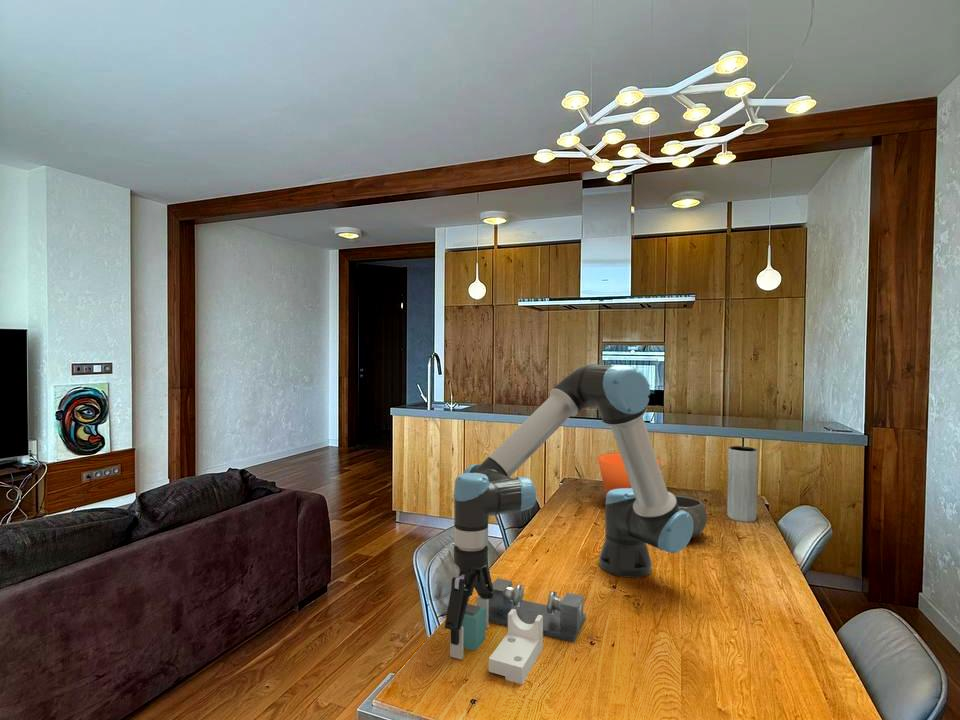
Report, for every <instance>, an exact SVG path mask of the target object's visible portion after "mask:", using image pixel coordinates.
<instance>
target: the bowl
mask: <svg viewBox="0 0 960 720" xmlns="http://www.w3.org/2000/svg"><path fill="white" fill-rule="evenodd" d="M674 496H675V498H676V500H677V503H678V506H679V509H680V510H681V511H683V510H684V511H686V512H687V513H689V514H690V515H691V517H692V519H693V533H692V536H691V539H692V538H695V537H696V536H699V535H700V534H701V533H702V532H703V530H705V528H706V525H707V521H708V519H707V518H708V516H707V510H706V508H705V505H704V504H703V502H702V501H701V500H699V499H696V498H694V497H693V498H691V497H687V496H680V495H674Z"/></svg>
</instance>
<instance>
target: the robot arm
mask: <svg viewBox="0 0 960 720" xmlns="http://www.w3.org/2000/svg"><path fill="white" fill-rule="evenodd" d="M650 395H651V387H650V384H649V381H648V379H647V377H646V376H645V375H644V373H643V372H642V371H641V370H639V369H637V368H636V367H633V366H629V365H628V366H627V365H622V364H615V365H612V364H611V365H609V364H597V363H596V364H593V363H592V364H591V363H590V364H585V365H583V366H581V367H579V368H576V369H575V370H573V371H572V372H570V373H568V375H566V376H565V377H564V378H563V379H562V380H560V381H559V382H558V383H557V384H556V385H555V386H554V387H553V388H552V389H551V390H550V391H549V397H548V398H547V399H546V400H545V401H544V402H543V403H542V404H541V405H540V406H538V408H536V410H535V411H533V413H531V415H529V416H528V418H527V419H525V420H524V421H523V422H522V423H521V424H520V425H519V427H517V428H516V429H515V430H514V431H513V432H512V433H511V434H510V435H509V436H508V437H507V438H506V439H505V440H504V441H503V442H502V443H501V444H500V445H499V446H498V447H497V448H496V449H495V450H494V451H493V452H492V453H491V454H489V456H488V457H487V458H485V459H484V461H483V462H481V463H474V464H473V463H472V464H470V465H469V466H467V468H465V470H464V472H463V473H461V474H459V475H458V476H456V478H455V481H454V491H453V501H454V502H453V504H454V505H453V507H454V511H453V513H454V515H453V517H454V525H453V528H452V531H453V532H454V533H453V534H454V537H453V538H454V539H453V543H454V547H453V562H454V564H455V565H456V566H457V567H458V568H459V574H458V577H452V579H451V586H450V587H451V589H450V593H449V594H450V595H449V601H448V604H447V605H448V606H447V610H446V617H445V621H444V629H445V630H448V631H449V630H450V631H449V632H450V633H449V634H450V636H449V637H450V639H449V642H450V644H449V646H450V649H449V651H450V652H449V656H450V657H451V658H454V659H458V660H463V659H464V648H463V635H464V627H461V626H462V622H463V619H464V615H465V611H466V607H467V604H469V599H470V597H471V596H472V595H473V592H474V590H475V591H476V593H477V597H476V606H479V607H483V608H485V629H488V628H489V621H488V612H489V599H488V598H490V599H492V597H493V593H490V592H492V591H493V586H492V583H493V582H492V577H491V572H490V568H489V547H488V546H487V545H488V544H489V517H492V516H497V515H498V516H499V515H505V514H512V513H517V512H519V513H520V512H521V513H522V511H526V510H529V509H530V510H531V509H533V507H534V506H535V505H536V502H537V490H536V489H537V488H536V486H535V483H534V482H533V480H532V479H531V478H530V477H527V476H516V477H513V475H514V474H515V472H517V471H518V470H519V468H521V467H522V465H523V464H524V463H525V462H527V460H528V459H529V458H531V457H532V455H534V454H535V452H537V450H538V449H539V448H540V447H541V446H543V444H544V443H545V442H546V441H547V440H548V439H549V438H551V436H552V435H553V434H554V433H556V431H557V430H559V428H560V427H561V426H562V425H563V424H564V423H565V422H566V421H567V420H568V419H569V418H570V417H576V416H577V415H578V414H579V413H580V412H582V411H583V410H585V409H588V408H594V409H597V410H598V413H599V416H600V418H601V422H602V423H603V424H605V425H607V426H609V427H610V428H611V432H612V434H613V438H614V441H615V443H616V446H617V448H618V451H619V452H618V453H620V455H621V458H622V461H623V464H624V466H625V469H626V472H627V475H628V478H629V481H630V484H631V487H632V488H621V489H614V490H610V491H609V492H608V493H607V495H606V494H605V506H604V507H605V508H604V511H605V512H604V513H605V514H604V515H605V517H604V519H605V531H604V532H605V539H604V542H603V545H602V548H601V550H600V554H599V557H598V564H599V567H600V568H601V569H602V570H603V571H605V572H607V573H609V574H611V575H614V576H619V577H623V578H641V577H645V576H648V575H650V574H651V573H652V569H653V566H652V565H653V563H652V559H651V555H650V552H649V550H648V545H650V546H651V547H654V548H656V549H657V550H660V551H662V552H663V551H664V552H667V553H669V554H676V553H677V554H678V553H680V552H681V551H683V550H684V549H685V548H686V547H687V546H688V544H689V543H690V541H691V539H692V538H691V536H692V533H693V519H692V517H691V515H690V514H689V513H687V512H686V511H684V510H683V511H681V510H680V509H679V506H678V503H677V500H676V498H675V496H676V495H674V493H672V492H670V491H668V489H667V486H666V483H665V480H664V476H663V473H662V471H661V468H660V467H659V464H658V461H657V456H656V453H655V450H654V447H653V444H652V440H651V437H650V434H649V432H648V428H647V426H646V422H645V420H644V415H645V414H646V413H647V406H648V404H649V402H650V397H649V396H650ZM511 476H512V477H511Z"/></svg>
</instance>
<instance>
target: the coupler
mask: <svg viewBox="0 0 960 720" xmlns="http://www.w3.org/2000/svg"><path fill="white" fill-rule="evenodd" d="M461 627H464V635H463V649H468V650H471V651H475V652H476V651H478V649H479V648H480V647H481V645H482V644H483V643H484V641H485V640H486V628H485V608H483V607H479V606H477V605H475V604H474V605H473V604H471V603H467V607H466V611H465V615H464V619H463V622H462V626H461Z"/></svg>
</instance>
